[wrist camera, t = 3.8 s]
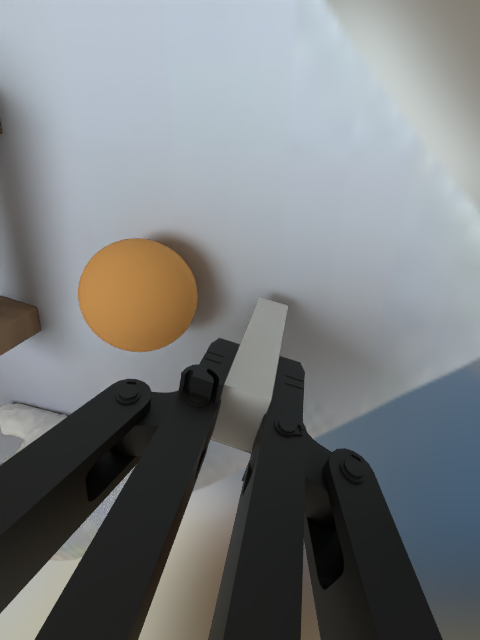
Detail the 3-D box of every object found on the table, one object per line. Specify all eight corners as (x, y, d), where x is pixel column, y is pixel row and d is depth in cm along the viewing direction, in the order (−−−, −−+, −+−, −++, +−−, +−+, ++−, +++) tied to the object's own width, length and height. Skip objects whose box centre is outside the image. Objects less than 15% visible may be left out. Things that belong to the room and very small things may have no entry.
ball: (123, 304, 18) (56, 354, 14) (122, 216, 15) (37, 240, 11) (204, 329, 18) (164, 390, 13) (219, 243, 15) (174, 281, 10)
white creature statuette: (6, 399, 27) (-182, 543, 17) (67, 387, 24) (-118, 555, 14) (65, 465, 31) (-60, 617, 21) (125, 462, 28) (13, 639, 17)
